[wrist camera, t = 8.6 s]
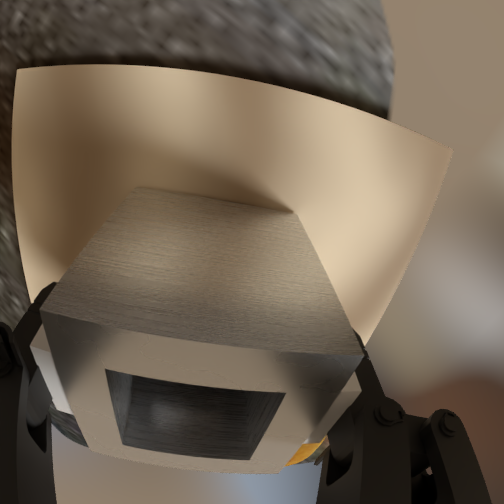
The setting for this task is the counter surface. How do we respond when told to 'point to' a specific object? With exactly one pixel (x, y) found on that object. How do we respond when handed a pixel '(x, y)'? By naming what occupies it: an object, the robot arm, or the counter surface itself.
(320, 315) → the hollow square tube
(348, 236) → the block
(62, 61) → the counter surface
